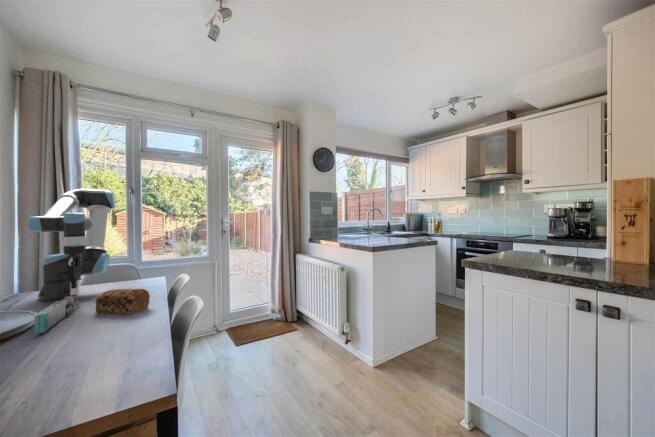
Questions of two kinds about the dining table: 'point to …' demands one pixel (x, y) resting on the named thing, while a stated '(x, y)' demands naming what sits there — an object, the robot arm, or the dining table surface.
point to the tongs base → (69, 310)
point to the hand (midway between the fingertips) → (74, 294)
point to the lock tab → (71, 298)
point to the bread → (122, 301)
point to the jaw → (54, 314)
